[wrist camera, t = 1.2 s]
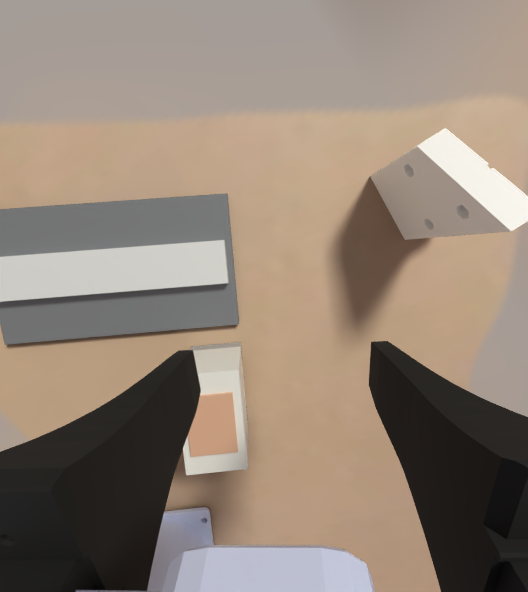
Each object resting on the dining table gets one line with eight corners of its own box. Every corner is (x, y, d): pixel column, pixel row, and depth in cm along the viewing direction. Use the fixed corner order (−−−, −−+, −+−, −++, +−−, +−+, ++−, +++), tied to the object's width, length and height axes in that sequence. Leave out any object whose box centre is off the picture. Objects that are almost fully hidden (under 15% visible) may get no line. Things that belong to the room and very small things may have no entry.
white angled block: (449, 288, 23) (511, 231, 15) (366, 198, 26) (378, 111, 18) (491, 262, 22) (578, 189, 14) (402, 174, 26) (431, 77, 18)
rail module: (247, 419, 26) (247, 470, 20) (200, 424, 26) (185, 477, 20) (240, 341, 25) (238, 371, 19) (191, 346, 25) (172, 377, 19)
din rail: (239, 322, 25) (238, 326, 23) (9, 342, 24) (-4, 347, 23) (227, 194, 23) (226, 191, 22) (-17, 211, 22) (-33, 209, 21)
